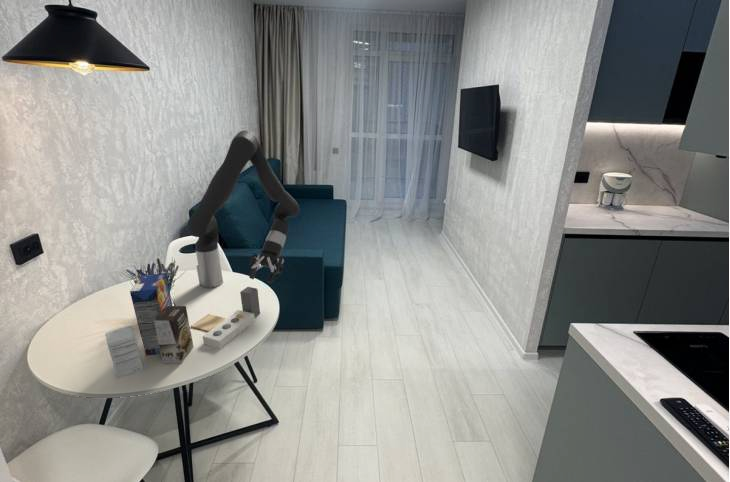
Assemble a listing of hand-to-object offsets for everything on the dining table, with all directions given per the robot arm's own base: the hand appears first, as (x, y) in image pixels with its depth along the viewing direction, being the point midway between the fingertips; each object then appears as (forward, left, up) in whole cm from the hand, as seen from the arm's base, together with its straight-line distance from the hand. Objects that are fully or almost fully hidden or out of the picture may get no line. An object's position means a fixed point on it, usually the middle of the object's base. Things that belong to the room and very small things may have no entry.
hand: (260, 280), depth 152 cm
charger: (-1, -7, -12) cm, 14 cm away
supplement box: (-24, -44, -12) cm, 51 cm away
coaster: (-14, -16, -12) cm, 24 cm away
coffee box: (-13, -35, -12) cm, 39 cm away
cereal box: (-23, -31, -12) cm, 40 cm away
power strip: (-3, -19, -12) cm, 23 cm away
